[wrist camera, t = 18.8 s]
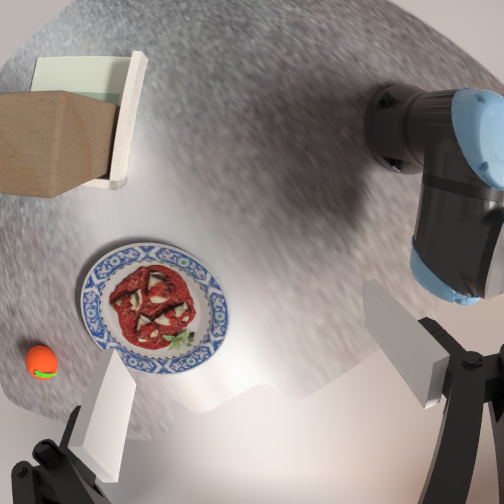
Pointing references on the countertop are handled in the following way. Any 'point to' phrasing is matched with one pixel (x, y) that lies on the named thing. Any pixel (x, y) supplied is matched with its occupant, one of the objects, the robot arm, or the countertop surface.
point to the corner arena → (100, 97)
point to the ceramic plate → (155, 308)
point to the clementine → (41, 362)
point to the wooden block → (54, 141)
